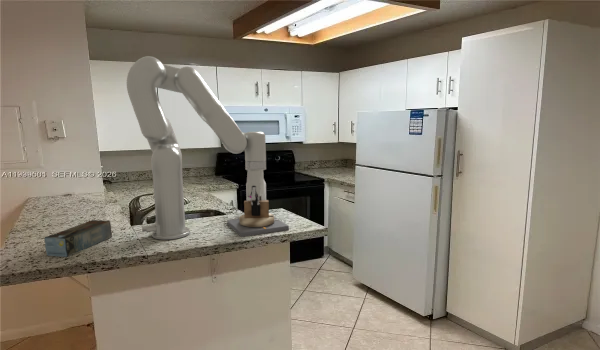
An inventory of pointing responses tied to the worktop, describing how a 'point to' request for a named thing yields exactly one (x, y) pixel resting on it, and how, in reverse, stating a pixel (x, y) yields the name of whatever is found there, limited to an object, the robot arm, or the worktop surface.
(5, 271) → the worktop surface
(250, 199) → the supplement can
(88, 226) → the beverage carton
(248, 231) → the dial base
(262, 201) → the dial
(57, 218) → the worktop surface
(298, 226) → the worktop surface
